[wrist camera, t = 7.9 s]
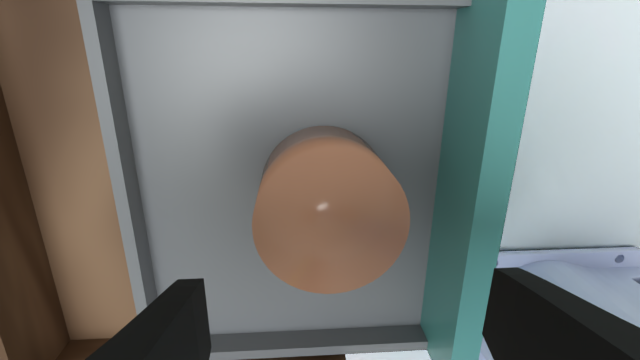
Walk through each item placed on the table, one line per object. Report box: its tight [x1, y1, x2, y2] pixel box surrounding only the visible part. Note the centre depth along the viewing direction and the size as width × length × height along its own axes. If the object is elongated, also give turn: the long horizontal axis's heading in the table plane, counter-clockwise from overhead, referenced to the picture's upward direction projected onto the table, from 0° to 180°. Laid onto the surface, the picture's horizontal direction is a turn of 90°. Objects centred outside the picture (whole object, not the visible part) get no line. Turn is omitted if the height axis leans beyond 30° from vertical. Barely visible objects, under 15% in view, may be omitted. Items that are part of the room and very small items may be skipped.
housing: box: [0, 0, 346, 360], centre depth 15 cm, size 15×19×4 cm
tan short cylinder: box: [252, 126, 410, 294], centre depth 15 cm, size 5×5×4 cm
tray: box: [76, 0, 546, 360], centre depth 15 cm, size 15×16×4 cm
